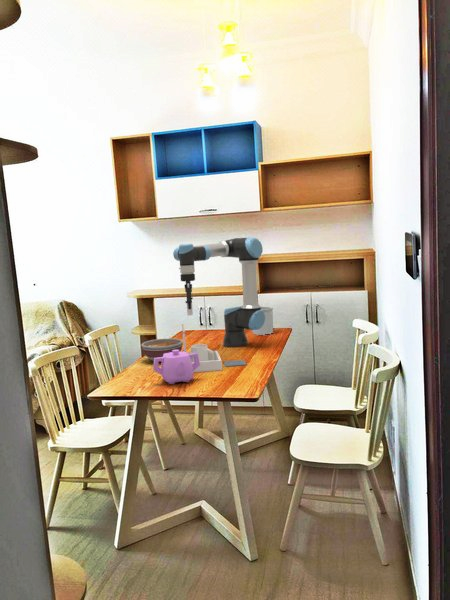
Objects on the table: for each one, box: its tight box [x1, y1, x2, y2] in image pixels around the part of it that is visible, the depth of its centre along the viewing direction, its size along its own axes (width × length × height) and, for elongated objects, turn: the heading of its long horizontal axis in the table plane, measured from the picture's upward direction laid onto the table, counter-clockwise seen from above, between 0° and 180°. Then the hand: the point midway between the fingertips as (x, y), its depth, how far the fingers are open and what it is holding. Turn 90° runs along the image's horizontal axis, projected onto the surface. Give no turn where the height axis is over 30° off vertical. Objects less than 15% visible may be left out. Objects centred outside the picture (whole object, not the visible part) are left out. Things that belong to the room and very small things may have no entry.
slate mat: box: [222, 359, 247, 368], centre depth 297 cm, size 11×11×1 cm
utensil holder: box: [251, 305, 274, 336], centre depth 376 cm, size 15×15×18 cm
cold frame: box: [181, 323, 223, 373], centre depth 295 cm, size 18×24×21 cm
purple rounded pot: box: [152, 350, 200, 385], centre depth 269 cm, size 19×18×15 cm
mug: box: [190, 343, 214, 362], centre depth 296 cm, size 9×12×11 cm
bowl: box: [140, 338, 184, 363], centre depth 316 cm, size 23×23×10 cm
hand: (189, 313), depth 299 cm, fingers open, 13 cm apart
